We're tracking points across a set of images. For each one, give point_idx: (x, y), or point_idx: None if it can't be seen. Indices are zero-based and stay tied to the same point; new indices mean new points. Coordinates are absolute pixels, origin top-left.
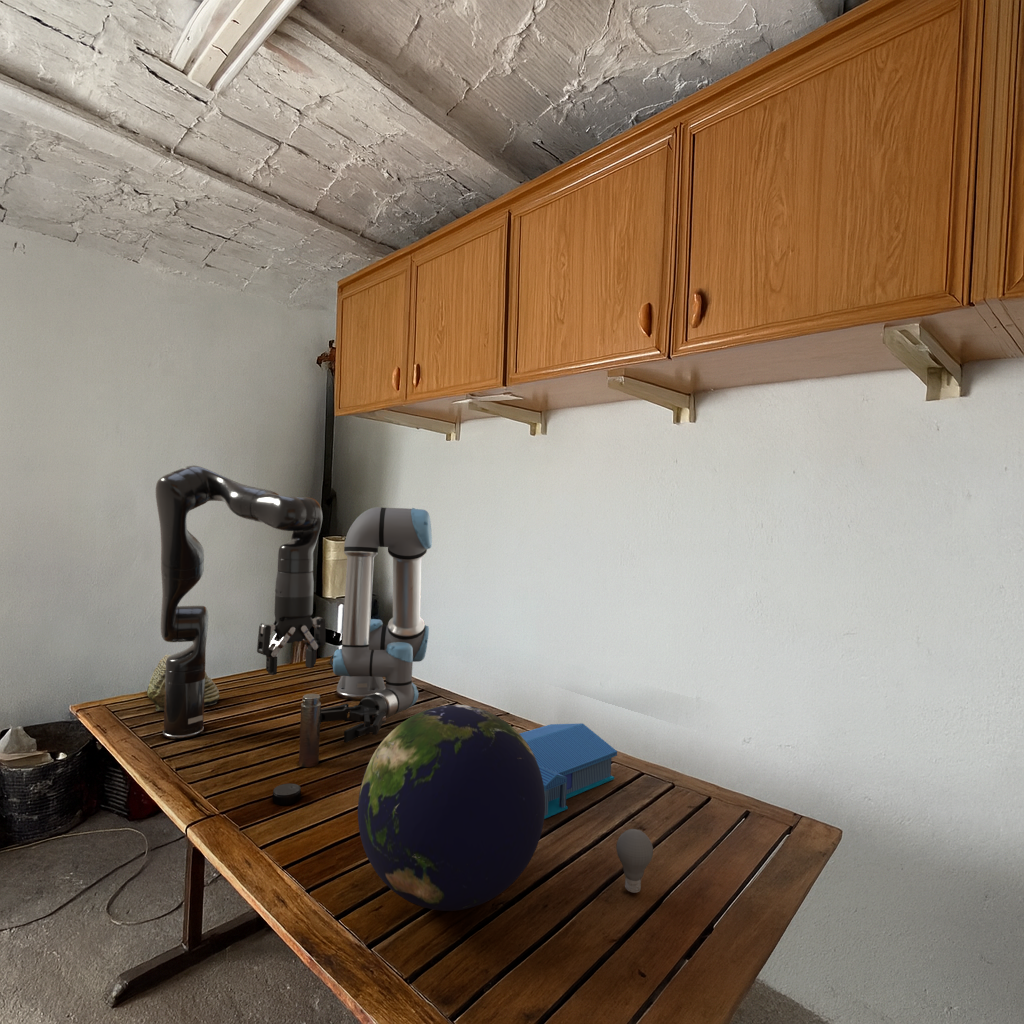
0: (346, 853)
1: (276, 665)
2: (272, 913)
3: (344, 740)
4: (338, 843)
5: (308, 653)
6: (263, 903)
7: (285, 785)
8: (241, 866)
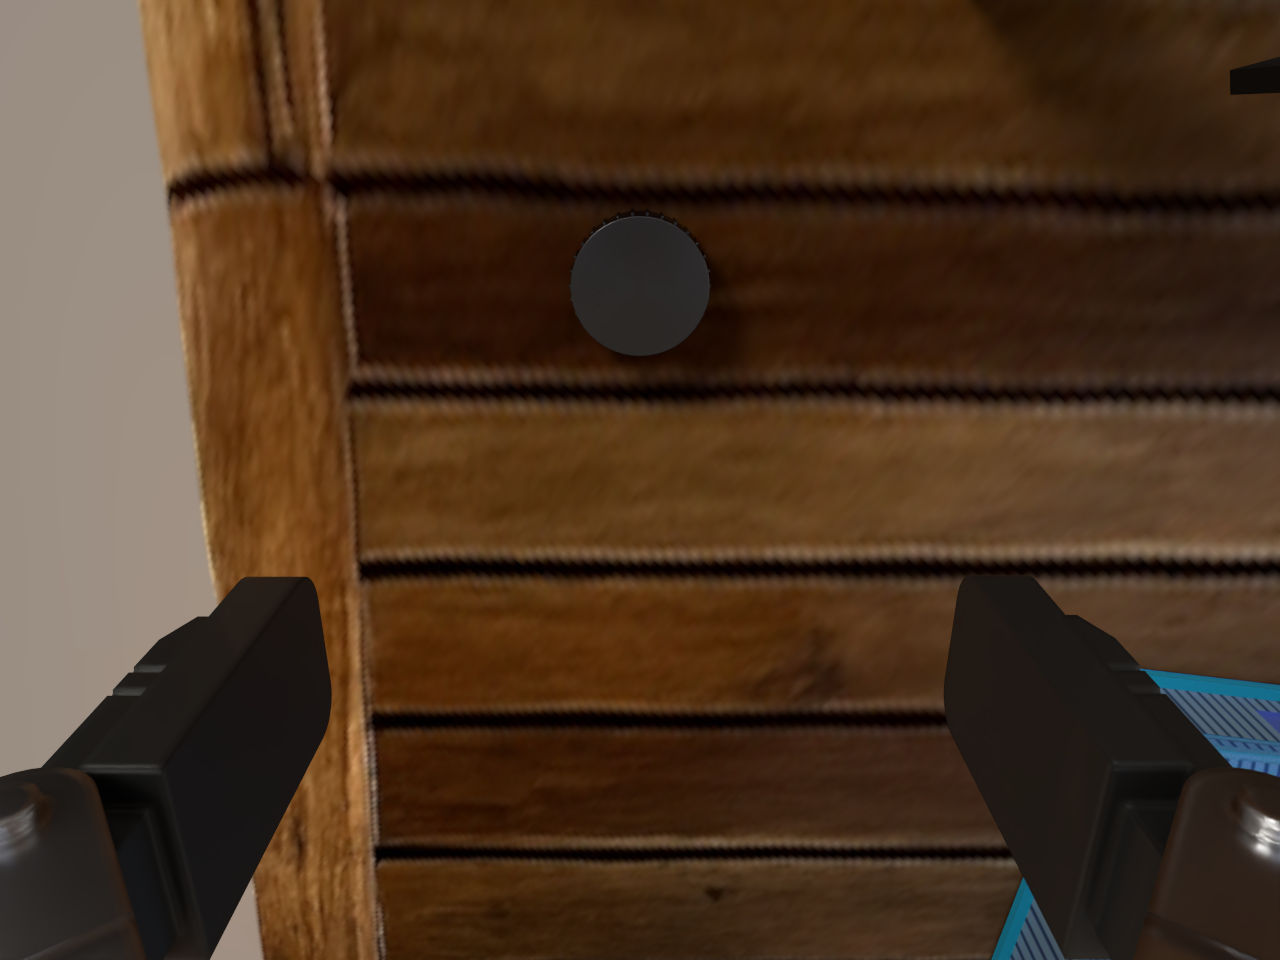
0: (576, 783)
1: (268, 822)
2: None
3: (1238, 76)
4: (593, 723)
5: (1050, 801)
6: None
7: (657, 242)
8: None
